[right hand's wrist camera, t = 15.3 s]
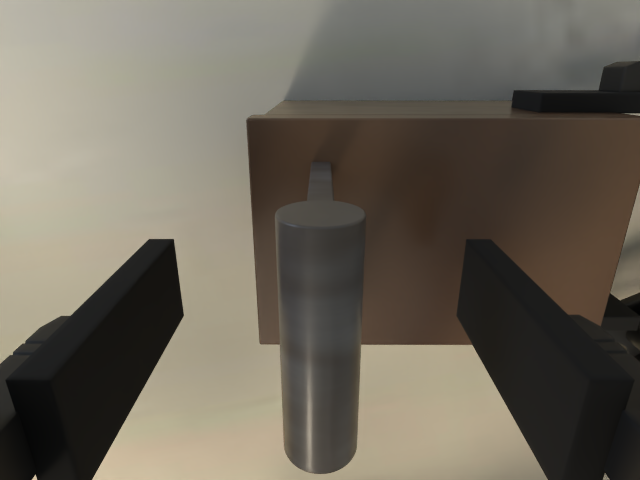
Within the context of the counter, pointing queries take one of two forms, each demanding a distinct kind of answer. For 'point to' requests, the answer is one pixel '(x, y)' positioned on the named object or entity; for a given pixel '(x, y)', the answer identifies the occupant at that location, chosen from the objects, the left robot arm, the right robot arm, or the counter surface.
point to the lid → (418, 237)
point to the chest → (406, 108)
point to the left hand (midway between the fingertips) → (507, 214)
